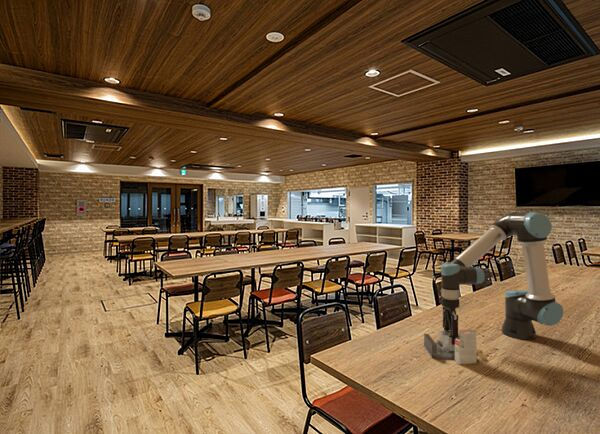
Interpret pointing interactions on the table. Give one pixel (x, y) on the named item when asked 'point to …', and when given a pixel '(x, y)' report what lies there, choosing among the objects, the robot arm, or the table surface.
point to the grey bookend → (436, 349)
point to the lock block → (445, 340)
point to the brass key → (481, 355)
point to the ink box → (466, 347)
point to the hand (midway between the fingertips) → (450, 347)
